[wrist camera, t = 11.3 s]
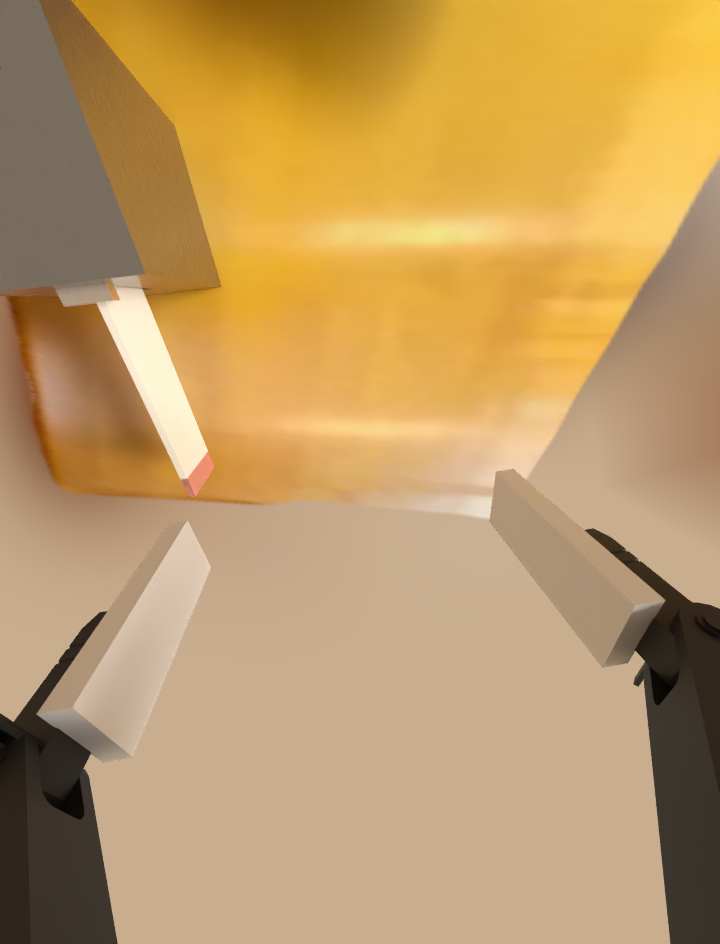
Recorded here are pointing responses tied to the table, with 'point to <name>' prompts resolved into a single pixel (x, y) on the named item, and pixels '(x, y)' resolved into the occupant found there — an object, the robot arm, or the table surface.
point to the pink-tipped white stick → (158, 384)
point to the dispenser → (88, 169)
